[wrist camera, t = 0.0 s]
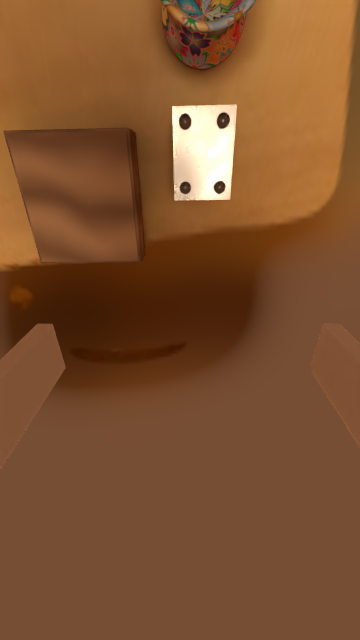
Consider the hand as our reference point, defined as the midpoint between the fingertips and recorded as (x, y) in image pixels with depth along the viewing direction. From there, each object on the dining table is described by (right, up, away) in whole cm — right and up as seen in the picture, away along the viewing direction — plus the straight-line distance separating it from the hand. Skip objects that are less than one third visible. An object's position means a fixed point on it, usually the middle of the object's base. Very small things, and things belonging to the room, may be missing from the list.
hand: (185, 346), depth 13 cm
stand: (-13, +18, +23) cm, 31 cm away
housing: (+2, +22, +20) cm, 30 cm away
